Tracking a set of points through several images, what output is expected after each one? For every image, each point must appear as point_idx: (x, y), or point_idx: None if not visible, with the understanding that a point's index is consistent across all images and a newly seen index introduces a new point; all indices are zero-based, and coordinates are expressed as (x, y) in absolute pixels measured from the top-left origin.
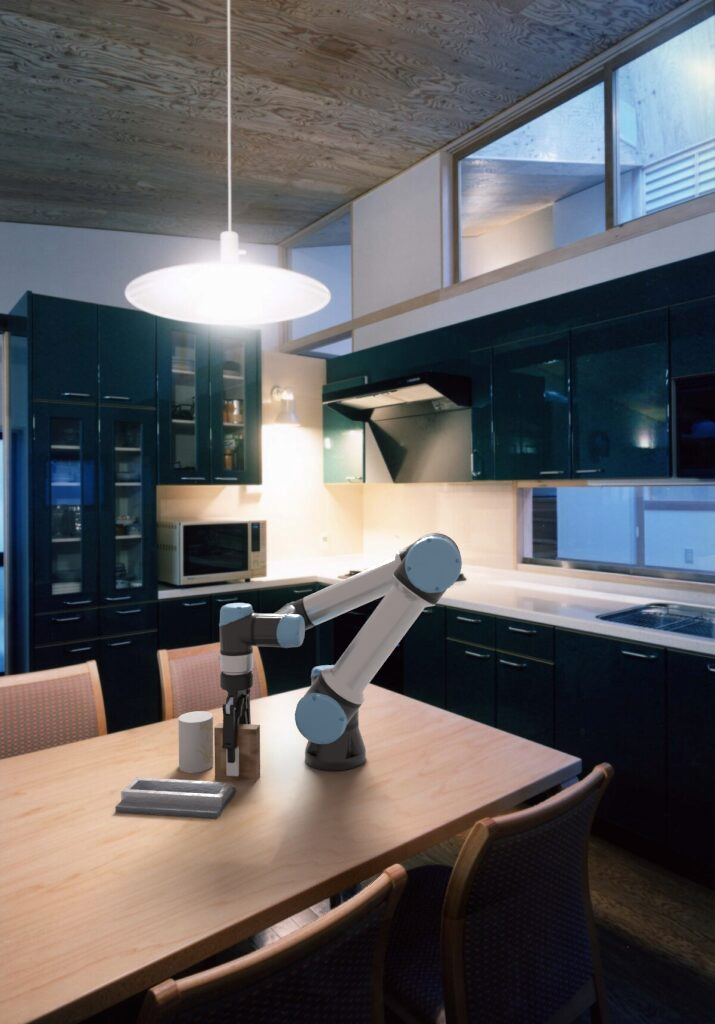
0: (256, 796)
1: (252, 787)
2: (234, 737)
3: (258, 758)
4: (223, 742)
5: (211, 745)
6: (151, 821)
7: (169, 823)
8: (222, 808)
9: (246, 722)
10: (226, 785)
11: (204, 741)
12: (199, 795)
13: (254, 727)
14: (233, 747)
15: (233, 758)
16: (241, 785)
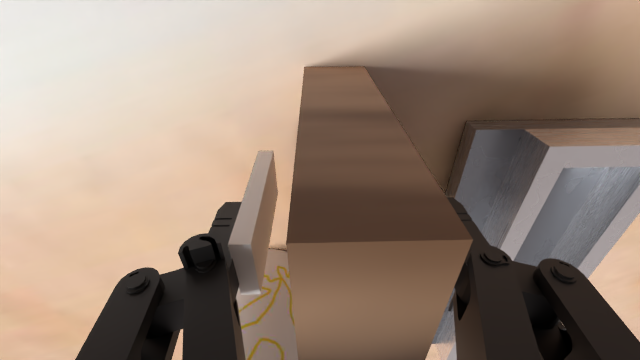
0: (528, 16)
1: (430, 65)
2: (588, 331)
3: (338, 95)
4: (567, 342)
5: (259, 315)
6: (600, 266)
7: (633, 231)
8: (632, 122)
9: (219, 348)
10: (571, 160)
11: (294, 352)
12: (630, 220)
13: (395, 271)
14: (571, 267)
15: (462, 214)
16: (408, 117)
